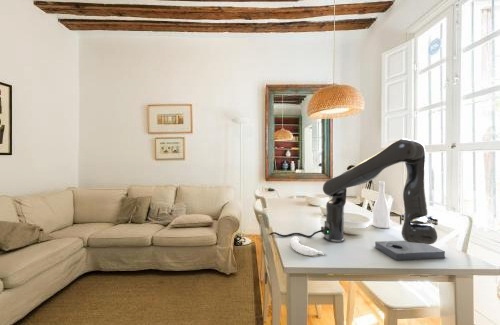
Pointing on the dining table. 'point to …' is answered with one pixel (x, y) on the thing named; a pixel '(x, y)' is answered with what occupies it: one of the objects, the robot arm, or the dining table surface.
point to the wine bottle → (381, 208)
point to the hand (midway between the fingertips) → (418, 215)
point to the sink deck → (409, 250)
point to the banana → (303, 248)
